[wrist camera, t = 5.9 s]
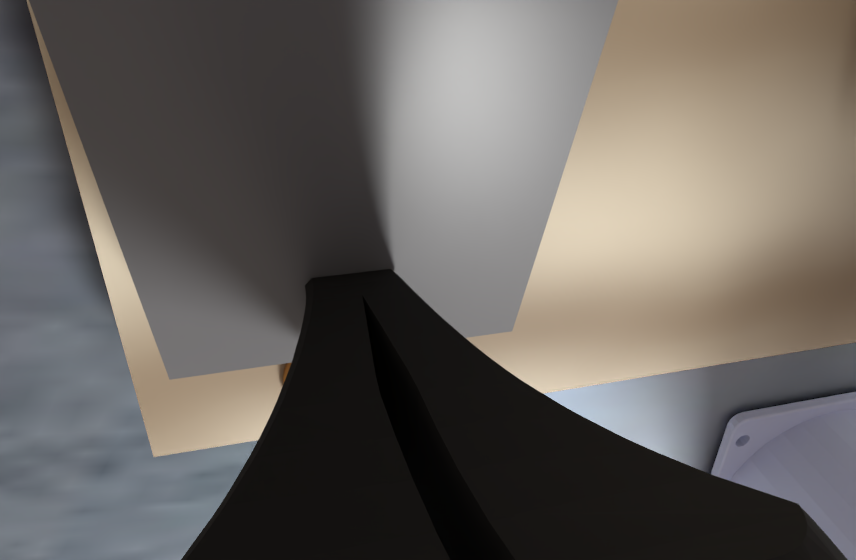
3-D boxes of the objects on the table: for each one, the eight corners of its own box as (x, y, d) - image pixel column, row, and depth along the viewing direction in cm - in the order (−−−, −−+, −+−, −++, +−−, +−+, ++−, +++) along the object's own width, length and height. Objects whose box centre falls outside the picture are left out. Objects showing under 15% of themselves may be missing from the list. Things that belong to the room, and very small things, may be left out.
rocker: (493, 281, 14) (512, 331, 13) (169, 321, 12) (169, 379, 12) (649, -319, 7) (709, -285, 6) (-59, -371, 5) (-97, -336, 5)
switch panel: (907, 264, 22) (1055, 357, 18) (163, 366, 17) (146, 523, 13) (1239, -469, 13) (1664, -593, 9) (-90, -671, 8) (-354, -1096, 4)
